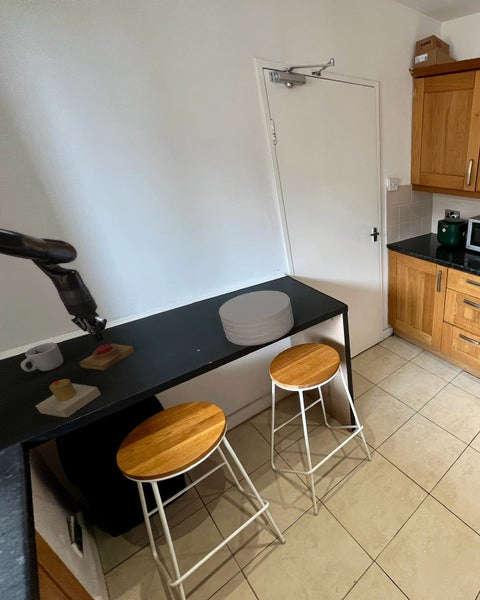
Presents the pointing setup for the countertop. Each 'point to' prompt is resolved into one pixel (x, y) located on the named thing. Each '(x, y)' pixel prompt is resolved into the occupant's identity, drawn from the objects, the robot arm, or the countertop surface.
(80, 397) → the panel
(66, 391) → the lock knob
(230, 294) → the countertop surface
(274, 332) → the plate stack
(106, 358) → the button block
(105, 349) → the button
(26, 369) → the cup
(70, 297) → the robot arm
